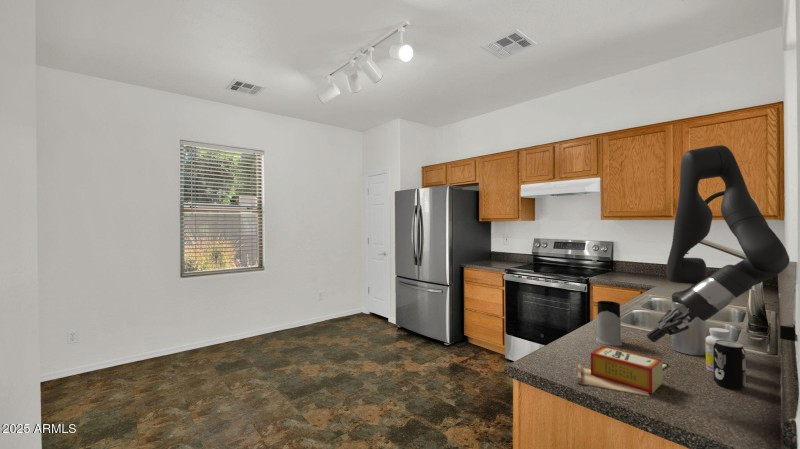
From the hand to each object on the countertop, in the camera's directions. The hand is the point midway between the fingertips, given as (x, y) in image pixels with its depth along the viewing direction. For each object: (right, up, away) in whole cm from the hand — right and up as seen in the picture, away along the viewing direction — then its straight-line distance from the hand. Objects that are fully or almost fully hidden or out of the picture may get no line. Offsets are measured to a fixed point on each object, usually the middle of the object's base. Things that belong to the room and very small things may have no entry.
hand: (649, 338), depth 97 cm
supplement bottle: (+29, -14, +11) cm, 34 cm away
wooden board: (-8, -14, +5) cm, 17 cm away
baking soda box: (+2, -10, 0) cm, 11 cm away
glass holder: (+13, -14, +41) cm, 45 cm away
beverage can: (+24, -14, +2) cm, 27 cm away
